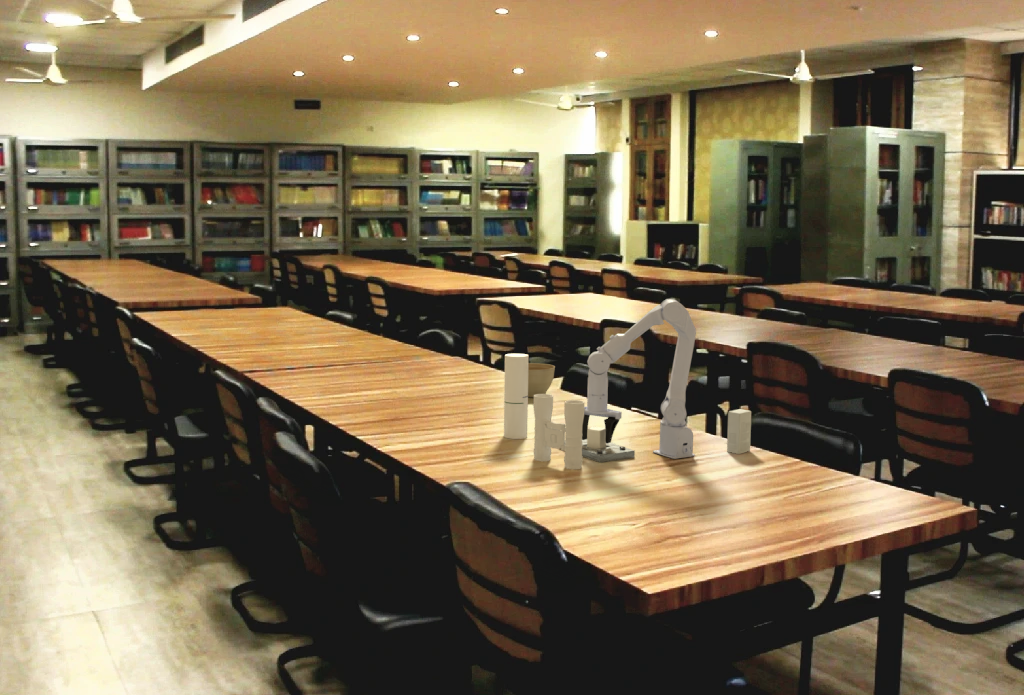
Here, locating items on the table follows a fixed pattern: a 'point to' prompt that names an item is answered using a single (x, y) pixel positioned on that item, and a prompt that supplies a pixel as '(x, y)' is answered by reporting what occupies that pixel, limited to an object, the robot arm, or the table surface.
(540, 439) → the binoculars
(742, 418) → the skincare box
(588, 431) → the cream rectangular block
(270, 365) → the table surface
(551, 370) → the planter bowl
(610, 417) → the robot arm
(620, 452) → the strike plate
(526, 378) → the cylindrical container
